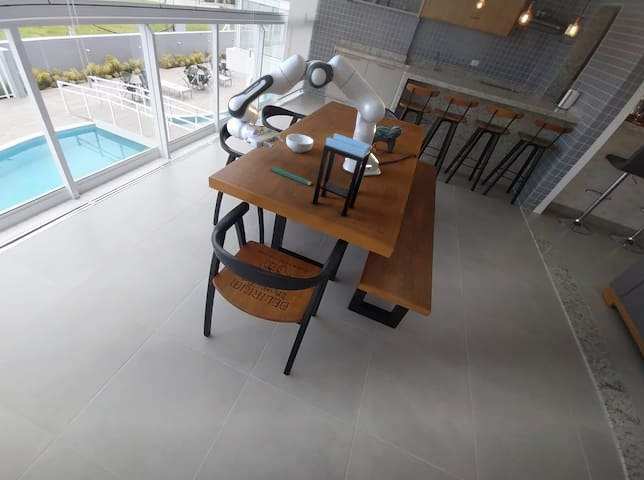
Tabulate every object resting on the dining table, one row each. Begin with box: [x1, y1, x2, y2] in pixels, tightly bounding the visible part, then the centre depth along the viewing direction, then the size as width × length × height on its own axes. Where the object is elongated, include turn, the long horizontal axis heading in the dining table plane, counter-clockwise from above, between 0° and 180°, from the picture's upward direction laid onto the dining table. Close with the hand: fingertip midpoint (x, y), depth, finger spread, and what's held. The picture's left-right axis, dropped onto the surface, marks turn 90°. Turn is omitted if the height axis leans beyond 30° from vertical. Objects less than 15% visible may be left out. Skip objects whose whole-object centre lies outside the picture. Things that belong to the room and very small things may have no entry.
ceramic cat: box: [372, 119, 402, 154], centre depth 201 cm, size 20×6×20 cm, turn 84°
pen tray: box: [325, 132, 373, 158], centre depth 125 cm, size 17×8×3 cm, turn 60°
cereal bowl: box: [285, 133, 314, 154], centre depth 186 cm, size 17×17×7 cm
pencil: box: [271, 166, 313, 186], centre depth 159 cm, size 24×2×1 cm, turn 60°
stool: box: [312, 144, 371, 217], centre depth 135 cm, size 17×11×27 cm, turn 60°
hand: (277, 143), depth 153 cm, fingers open, 8 cm apart
